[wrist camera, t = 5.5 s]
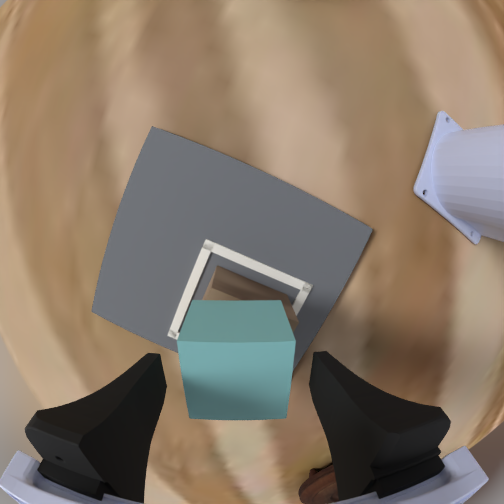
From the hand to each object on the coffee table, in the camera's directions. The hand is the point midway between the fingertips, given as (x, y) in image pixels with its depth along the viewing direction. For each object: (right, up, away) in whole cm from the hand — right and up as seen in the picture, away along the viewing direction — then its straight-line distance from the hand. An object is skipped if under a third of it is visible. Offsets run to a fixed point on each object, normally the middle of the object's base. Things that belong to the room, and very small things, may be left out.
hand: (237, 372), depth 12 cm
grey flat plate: (-1, +4, +6) cm, 8 cm away
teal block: (0, +1, +2) cm, 3 cm away
